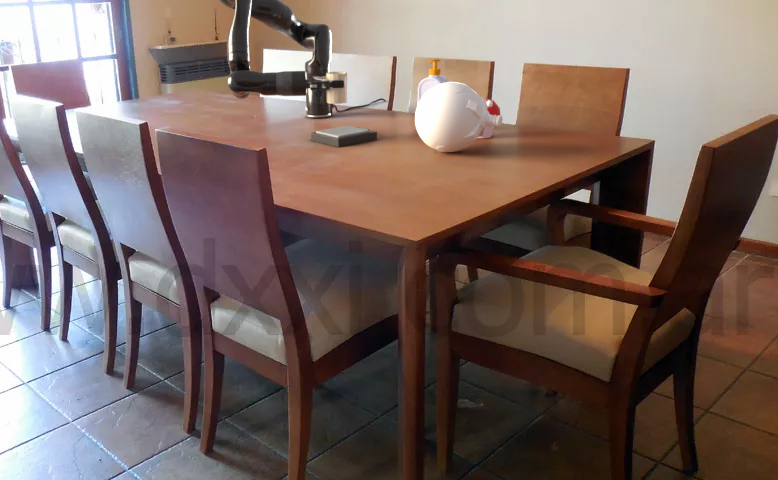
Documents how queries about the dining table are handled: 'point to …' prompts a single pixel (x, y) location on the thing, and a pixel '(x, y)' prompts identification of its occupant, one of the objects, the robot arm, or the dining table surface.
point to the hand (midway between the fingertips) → (344, 82)
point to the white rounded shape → (452, 117)
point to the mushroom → (492, 110)
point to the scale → (343, 136)
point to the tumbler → (337, 93)
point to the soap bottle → (430, 80)
